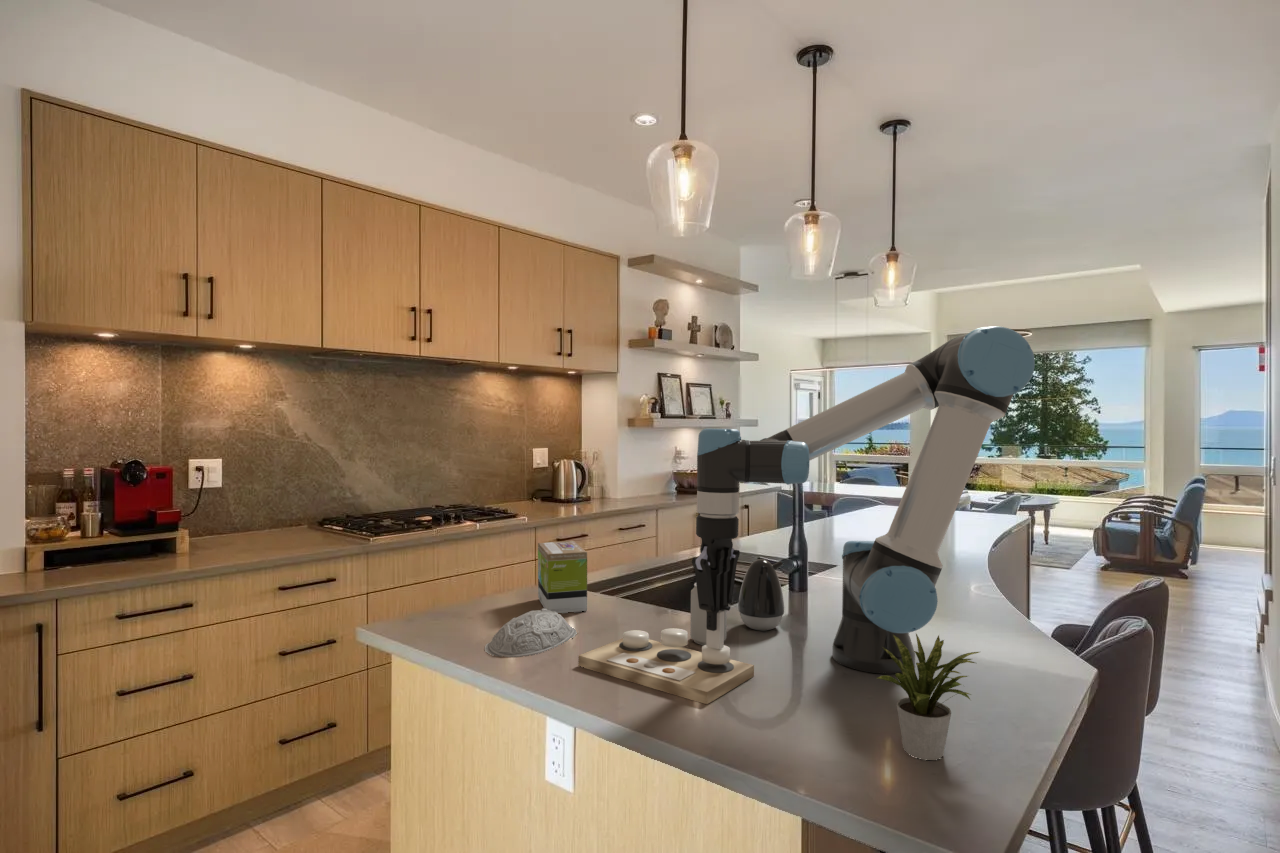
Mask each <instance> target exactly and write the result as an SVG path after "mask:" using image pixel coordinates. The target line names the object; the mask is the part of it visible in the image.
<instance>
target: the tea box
mask: <svg viewBox="0 0 1280 853" xmlns="http://www.w3.org/2000/svg"><path fill="white" fill-rule="evenodd" d="M537 595H538V597H537V598H538V600H539V602H540V604H541V605H542V607H543V608H545V609H547V610H550V611H552V612H553V611H555V612H557V613H562V614H569V613H568V612H574V613H583V612H582V611H584V612H587V611H588V552H587V551H586V550H585V549H584V548H583V547H582V546H580V544H578V543H577V542H576V541H575V540H569V541H550V542H538V543H537Z"/></svg>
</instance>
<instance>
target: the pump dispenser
mask: <svg viewBox="0 0 1280 853" xmlns="http://www.w3.org/2000/svg"><path fill="white" fill-rule="evenodd" d="M783 565H784V564H783V562H782V561H778V562H776V563H773V564H772V563H771V562H770V561H768V560H767V559H765V558H764V559H763V558H759V559H755V560H754V561H753V562H751V564H750V565H749V567H748V568H747V570H746V572H745V574H744V577H743V580H742V584H741V587H740V591H739V597H738V602H737V609H738V610H737V611H738V613H739V615H740V619H741V621H742V623H743V624H744V625H745V626H746V627H748V628H750V629H752V630H755V631H764V632H765V631H770V630H771V631H772V630H773V629H775V628H776V627H778V626H779V625H780V623H781V621H782V618H783V616H784V614H785V600H784V595H783V594H784V593H783V588H782V586H781V582H780V578H779V576H778V573H777V570H778V569H779V568H780V567H783Z"/></svg>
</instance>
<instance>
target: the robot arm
mask: <svg viewBox="0 0 1280 853" xmlns="http://www.w3.org/2000/svg"><path fill="white" fill-rule="evenodd" d="M1035 360H1036V359H1035V355H1034V351H1033V349H1032V347H1031V345H1030V344H1029V342H1028V340H1027V339H1026V338H1025V337H1023V335H1022V334H1020V333H1019V332H1017V331H1015V330H1013V329H1011V328H1009V327H1005V326H998V325H995V326H982V327H978V328H976V329H975V328H974V329H973V330H972V331H970V332H968V333H965V334H962V335H958V336H956V337H953V338H952V339H950V340H947V341H946V342H945V343H943V344H942V345H940V346H939V347H937V348H936V349H934V350H932V351H930V353H928V354H926V355H925V356H922V357H921V358H919V359H917V360H916V361H914V362H911V363H910V364H907V365H906V368H905V370H904V372H902V373H901V374H898V375H897V376H894V377H892V378H890V379H888V380H886V381H884V382H882V383H879V384H878V385H875V386H874V387H871V388H869V389H867V390H865V391H863V392H861V393H858V394H857V395H854V396H852V397H850V398H848V399H846V400H844V401H842V402H840V403H837V404H836V405H834V406H831V407H829V408H828V409H825V410H823V411H821V412H819V413H817V414H814V415H812V416H810V417H809V418H806V419H804V420H802V421H800V422H798V423H796V424H793V425H792V426H790V427H787V428H786V429H784V430H782V431H779V432H776V433H775V434H773V435H770V436H769V437H765V438H762V439H760V440H747V439H742V436H741V431H740V430H739V429H736V428H704V429H702V430H700V432H699V433H698V440H697V453H696V454H697V456H696V459H697V460H696V490H697V491H696V492H697V493H696V513H698V515H697V516H696V517H695V522H696V523H695V534H696V536H697V537H698V538H700V539H701V544H700V549H699V550H700V551H699V552H700V553H699V555H698V557H692V559H691V564H692V567H693V569H694V575H695V583H696V585H697V593H698V602H699V608H700V609H702V610H705V611H706V612H707V624H706V627H707V633H706V646H707V647H711V648H715V649H722V648H724V644H725V643H724V642H725V640H724V610H727V612H728V611H730V610H731V606H730V605H731V604H732V602H733V596H734V590H735V588H734V587H735V580H736V572H737V565H738V561H739V557H740V554H741V551H740V550H739V549H735V548H734V547H733V546H734V545H733V544H734V543H733V539H734V540H735V539H736V538H737V537H739V521H740V520H739V518H738V516H737V515H738V514H739V513H740V483H760V484H761V483H763V484H784V485H785V484H786V485H788V486H790V485H792V484H795V485H797V484H805V483H806V482H807V481H808V478H809V476H810V475H809V474H810V461H812V460H814V459H816V458H819V457H821V456H823V455H825V454H827V453H829V452H831V451H834V450H836V449H837V448H841V447H842V446H844V445H847V444H849V443H850V442H853V441H855V440H857V439H859V438H861V437H864V436H865V435H868V434H869V433H872V432H874V431H877V430H879V429H881V428H883V427H886V426H887V425H890V424H892V423H894V422H896V421H898V420H900V419H902V418H905V417H907V416H909V415H911V414H913V413H915V412H917V411H919V410H921V409H926V410H929V411H932V410H934V409H936V408H938V409H937V410H936V412H935V415H934V418H933V419H932V423H931V425H930V427H929V430H928V433H927V435H926V438H925V440H924V443H923V445H922V447H921V449H920V452H919V454H918V457H917V460H916V462H915V464H914V467H913V469H912V472H911V475H910V477H909V480H908V481H907V484H906V487H905V489H904V491H903V494H902V497H901V499H900V502H899V504H898V507H897V509H896V512H895V514H894V517H893V519H892V522H891V524H890V526H889V529H888V532H886V534H883V535H881V536H878V537H876V538H875V540H848V541H846V542H845V543H844V544H843V548H842V549H843V550H842V555H841V560H842V595H841V596H842V599H841V600H842V606H841V608H842V609H841V616H842V617H841V620H840V622H839V625H838V628H837V631H836V633H835V637H834V639H833V643H832V645H831V646H832V650H831V653H832V655H831V657H832V659H833V660H834V661H835V662H837V664H838V663H839V664H840V665H842V666H844V667H846V668H849V669H853V670H857V671H860V672H861V671H862V672H866V673H873V674H884V675H885V674H886V675H888V674H896V673H901V674H903V673H902V671H901V669H900V668H899V666H898V665H897V664H896V663H895V662H894V660H893V659H892V658H891V656H890V655H889V654H888V653H887V652H886V651H885V650H884V649H883V648H885V649H887V650H888V651H890V652H891V653H892V654H893V655H894V656H895V657H896V658H897V659H898V660H900V662H901V663H902V664H903V661H902V657H901V653H900V651H899V648H898V645H897V643H896V640H895V638H894V636H896V637H898V638H899V639H900V640H901V642H902V643H903V644H904V645H905V646H906V648H907V649H908V650H909V653H910V655H911V658H912V661H913V664H914V666H915V667H916V653H915V652H913V651H915V649H914V647H913V643H912V638H911V636H910V633H912V632H916V631H918V630H920V629H922V628H924V627H925V626H926V625H927V624H929V622H930V621H931V620H932V619H933V617H934V616H935V614H936V611H937V608H938V600H939V599H938V593H937V589H936V584H937V582H938V580H939V577H940V575H941V572H942V569H943V563H942V562H941V559H940V557H939V551H940V549H941V547H942V546H941V545H942V543H943V541H944V539H945V536H946V535H947V531H948V529H949V527H950V525H951V522H952V520H953V516H954V514H955V512H956V510H957V508H958V504H959V502H960V500H961V499H962V495H963V492H964V490H965V488H966V485H967V482H968V480H969V477H970V475H971V473H972V470H973V468H974V466H975V463H976V461H977V458H978V455H979V453H980V451H981V448H982V446H983V443H984V442H985V441H984V440H985V438H986V436H987V434H988V431H989V428H990V426H991V424H992V423H994V422H996V421H997V420H1000V419H1002V418H1004V417H1005V416H1006V413H1007V411H1008V408H1009V407H1010V404H1011V401H1012V399H1013V396H1014V395H1015V394H1018V393H1019V392H1020V391H1021V390H1022V389H1024V388H1025V387H1026V386H1027V384H1028V383H1029V382H1030V380H1031V379H1032V377H1033V374H1034V371H1035V368H1036V367H1035V363H1036V362H1035ZM893 635H894V636H893Z"/></svg>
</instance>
